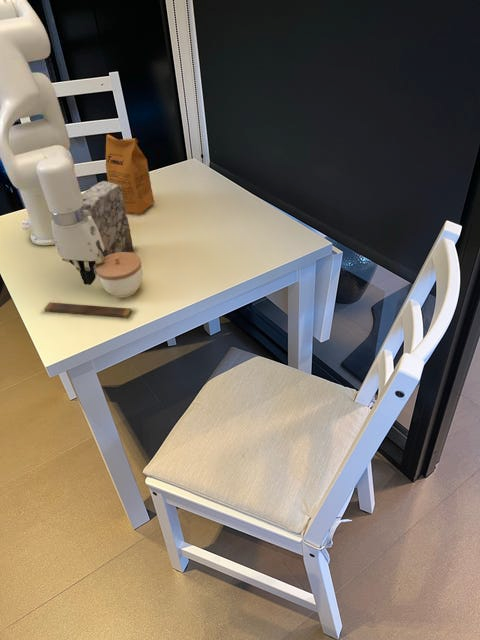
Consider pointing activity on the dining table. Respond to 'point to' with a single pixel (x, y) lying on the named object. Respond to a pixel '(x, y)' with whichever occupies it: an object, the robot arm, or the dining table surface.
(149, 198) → the coffee package
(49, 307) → the walnut straight-edge
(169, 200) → the dining table surface
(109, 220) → the stone block
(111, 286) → the trinket box
